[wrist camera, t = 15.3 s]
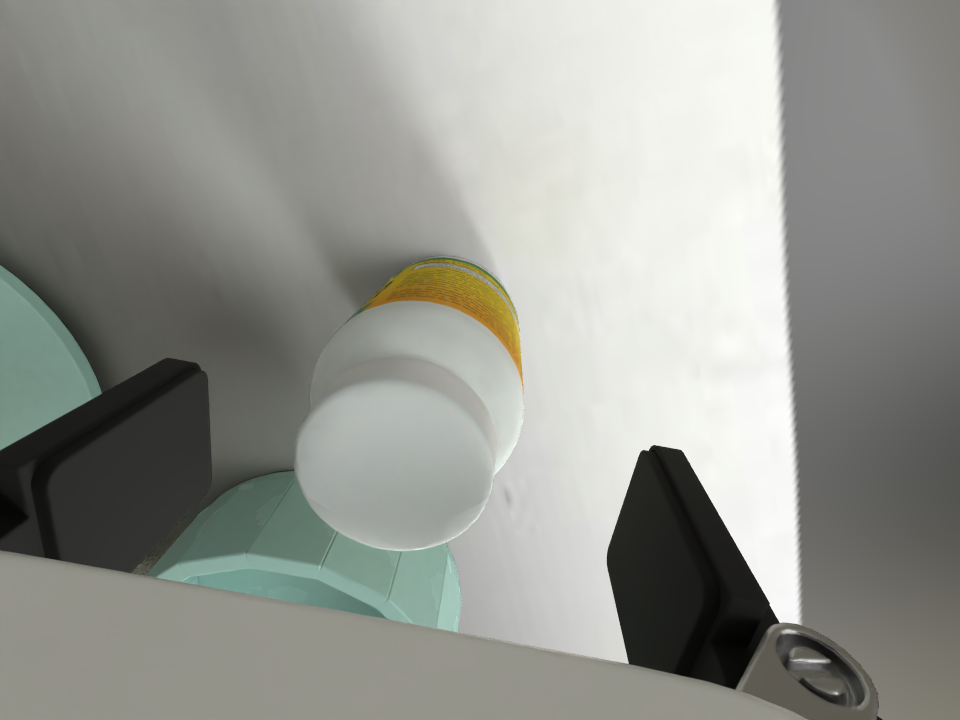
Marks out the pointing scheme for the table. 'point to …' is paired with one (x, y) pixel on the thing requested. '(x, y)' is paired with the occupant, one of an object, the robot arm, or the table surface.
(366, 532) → the supplement bottle
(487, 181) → the table surface
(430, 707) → the robot arm
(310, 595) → the tin
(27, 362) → the tin lid
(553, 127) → the table surface
